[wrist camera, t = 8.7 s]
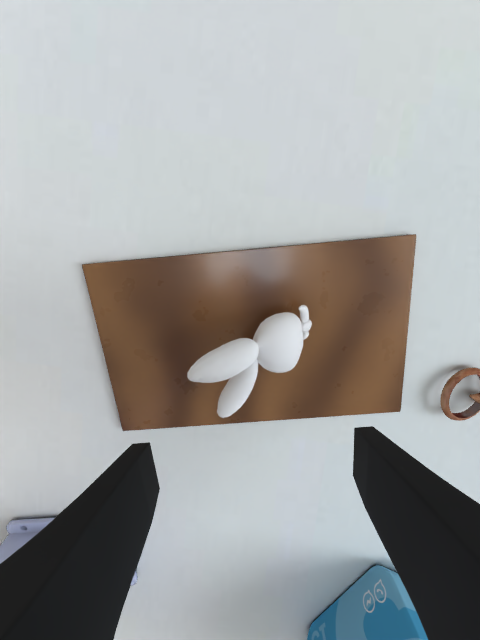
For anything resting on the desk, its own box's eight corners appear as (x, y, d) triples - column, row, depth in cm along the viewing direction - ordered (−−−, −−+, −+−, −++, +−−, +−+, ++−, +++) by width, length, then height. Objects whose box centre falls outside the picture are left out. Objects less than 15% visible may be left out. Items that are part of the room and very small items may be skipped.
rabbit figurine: (325, 361, 18) (230, 443, 16) (284, 329, 20) (196, 395, 18) (333, 297, 14) (202, 397, 11) (279, 265, 16) (162, 342, 13)
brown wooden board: (124, 427, 20) (122, 431, 20) (85, 264, 17) (81, 264, 16) (397, 408, 19) (400, 411, 19) (412, 234, 16) (416, 234, 16)
